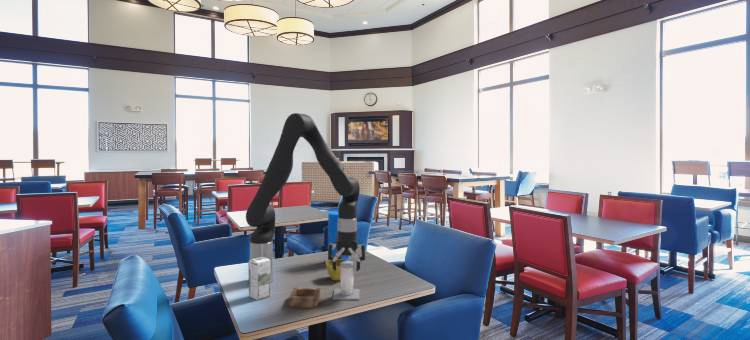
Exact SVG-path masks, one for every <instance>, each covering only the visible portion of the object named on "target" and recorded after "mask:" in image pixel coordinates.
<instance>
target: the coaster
mask: <svg viewBox="0 0 750 340" xmlns="http://www.w3.org/2000/svg"><path fill="white" fill-rule="evenodd" d="M360 290H361V289H360V288H353V295H350V296H343V295H341V294H340V288H334V289H333V291H334V292H333V296H332V300H333V301H360V293H361V292H360Z"/></svg>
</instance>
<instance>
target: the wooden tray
mask: <svg viewBox="0 0 750 340" xmlns="http://www.w3.org/2000/svg"><path fill="white" fill-rule="evenodd" d="M320 299H321V288H320V287H294V288H293V289H292V291H291V293H290V294H289V296H288V308H289V309H290V308H297V309H298V308H304V309H305V308H307V309H308V308H309V309H310V308H314V309H315V308H317V309H318V305H319V302H320Z"/></svg>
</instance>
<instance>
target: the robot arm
mask: <svg viewBox="0 0 750 340" xmlns="http://www.w3.org/2000/svg"><path fill="white" fill-rule="evenodd" d="M300 138H303V139H304V140H305V141H306V142H307V143H308V144H309V145H310V146H311V148H312V150H313V152H314V155H315V158H316V160H317V163H318V165H319V166H320V167H321V169H322V170H323V171H324V173H325V174H326V175H327V176H328V178H329V180H330V183H331V184H332V187H333V189H334V190H335V191H336V193H337V194H339V196H341V197H342V199H341V202H340V203H339V205H338V211H337V212H338V217H339V218H338V227H337V228H338V230H337V244H332V243H330V244H329V252H328V251H327V260H328V259H329V260H332V261H333V269H334V271H336V269H337V258H338V257H339V256H340V255H343V256H345V255H348V256H350V257H351V256H352V257H354V258H355V261H356V272H359V271H360V270H361V262H362V261H365V260H366V250H365V246H366V245H365V244H364V243H361V244H358V242H357V240H358V238H357V237H358V234H357V233H358V220H357V210H358V209H357V206H358V202H359V197H360V191H361V189H360V188H361V186H360V183H359V180H357V178H355V177H351V176H350V177H349V176H347V175H346V172H345V166H344V165H343V164H342V162H341V161H340V160H339V158H338V156H336V155H335V153H334V152H333V151H332V149H331V148H330V146H329V145H328V143H327V142H326V140H325V139H324V136H323V135H322V134H321V132H320V130H319V128H318V127H317V125H316V123H315V120H313V118H312V117H311V116H310V115H307V114H306V113H298V112H295V113H292V114H290V115H288V116H287V118H286V119H285V122H284V124H283V127H282V130H281V134H280V138H279V140H278V142H277V146H276V148H275V150H274V152H273V155H272V157H271V159H270V161H269V164H268V166H267V168H266V171H265V173H264V176H263V178H262V181H261V182H260V185H259V188H258V189H257V192H256V193H255V195H254V197H253V199H252V201H251V202H250V204H249V206H248V207H247V209H246V212H245V221H246V223H247V225H248V226H250V227H252V228H255V230H254V231H253V232H252V233H251V234H250V236H249V260H252V259H256V258H260V257H265V258H267V259H269V260H271V264H270V283H272V282H273V281H274V279H273V276H274V273H273V272H274V270H273V269H274V268H273V265H274V262H273V260H274V259H273V257H274V256H273V255H274V251H273V249H274V248H273V247H274V243H273V242H274V240H273V237H274V235H275V233H276V232H275V230H276V229H275V228H276V211H275V208H274V206H273V205H272V204H270V203H271V202H272V200H273V199H274V197H275V196H276V195H277V194H278V193H280V191H281V190H282V189H283V187H284V186H285V185H286V183H287V182H288V180H289V177H290V176H291V173H292V171H293V167H294V152H295V148H296V146H297V144H298V142H299V140H300ZM335 247H336V248H337V250H338V252H337V253H336V255H335V256H334V257H333V256H332V250H334V248H335ZM357 249H359V250H360V251H361V256H359V254H358V252H357Z"/></svg>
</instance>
